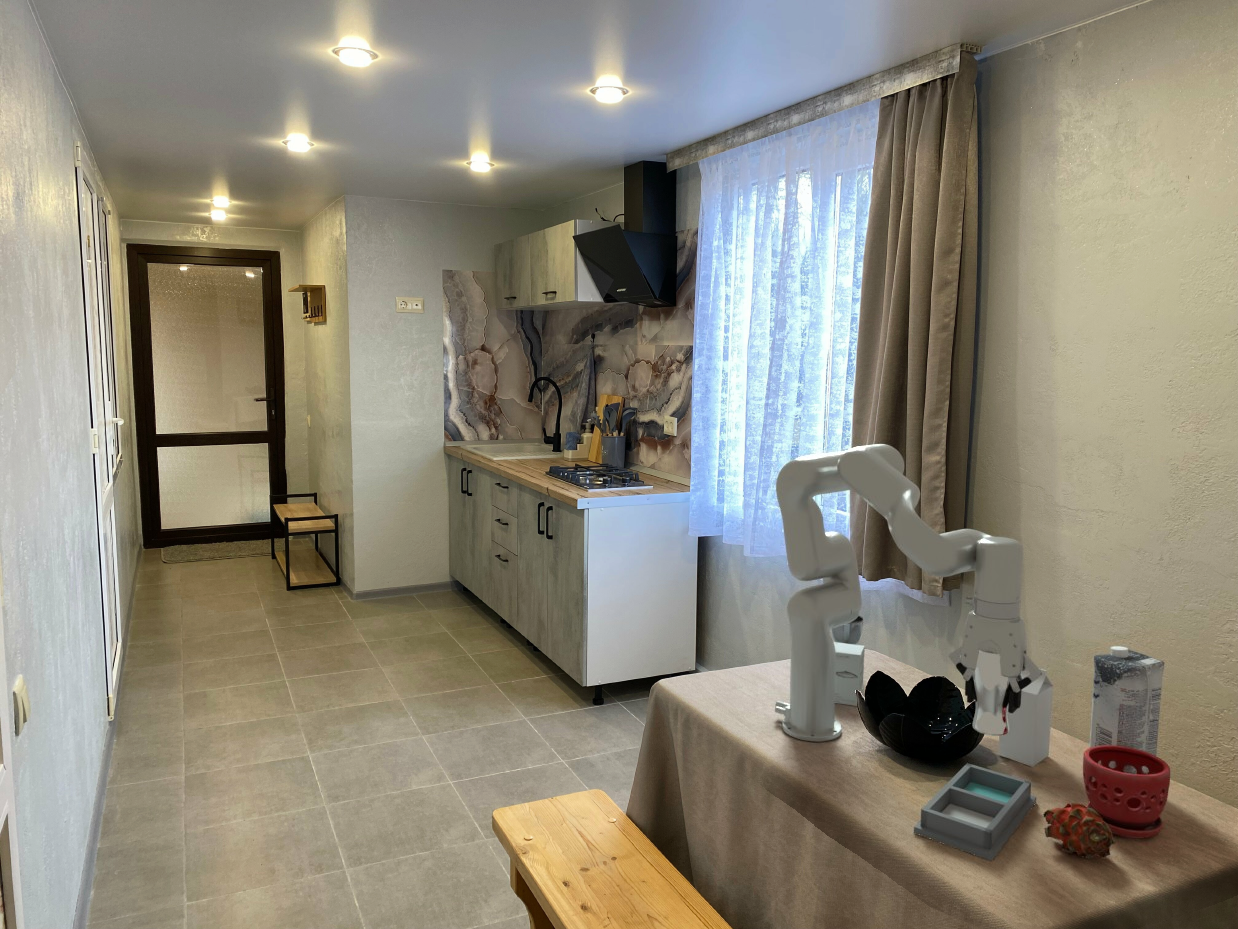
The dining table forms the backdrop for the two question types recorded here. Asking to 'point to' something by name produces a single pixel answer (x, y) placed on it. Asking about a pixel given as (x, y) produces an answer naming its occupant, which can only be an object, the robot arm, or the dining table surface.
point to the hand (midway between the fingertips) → (992, 704)
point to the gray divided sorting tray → (976, 811)
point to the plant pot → (1126, 789)
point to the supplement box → (848, 672)
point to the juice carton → (1126, 702)
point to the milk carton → (1030, 723)
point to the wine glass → (848, 632)
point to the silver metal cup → (990, 695)
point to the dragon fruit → (1079, 830)
